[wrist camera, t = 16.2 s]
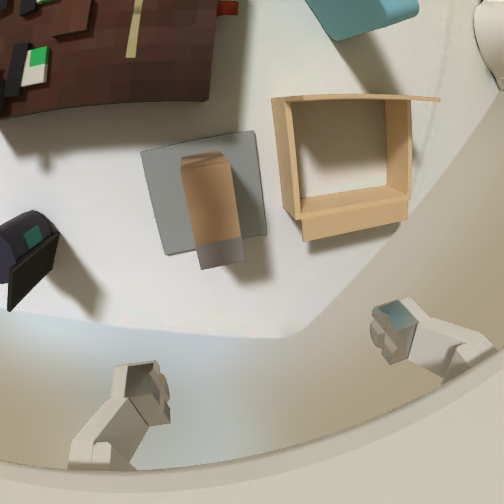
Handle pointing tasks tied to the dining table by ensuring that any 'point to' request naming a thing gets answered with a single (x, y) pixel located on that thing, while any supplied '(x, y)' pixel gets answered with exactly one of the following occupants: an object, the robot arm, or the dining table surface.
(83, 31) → the decorative book
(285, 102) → the drawer
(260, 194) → the mat
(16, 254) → the speaker
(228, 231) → the box
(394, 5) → the blue rounded block
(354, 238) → the dining table surface
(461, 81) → the dining table surface
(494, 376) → the robot arm
